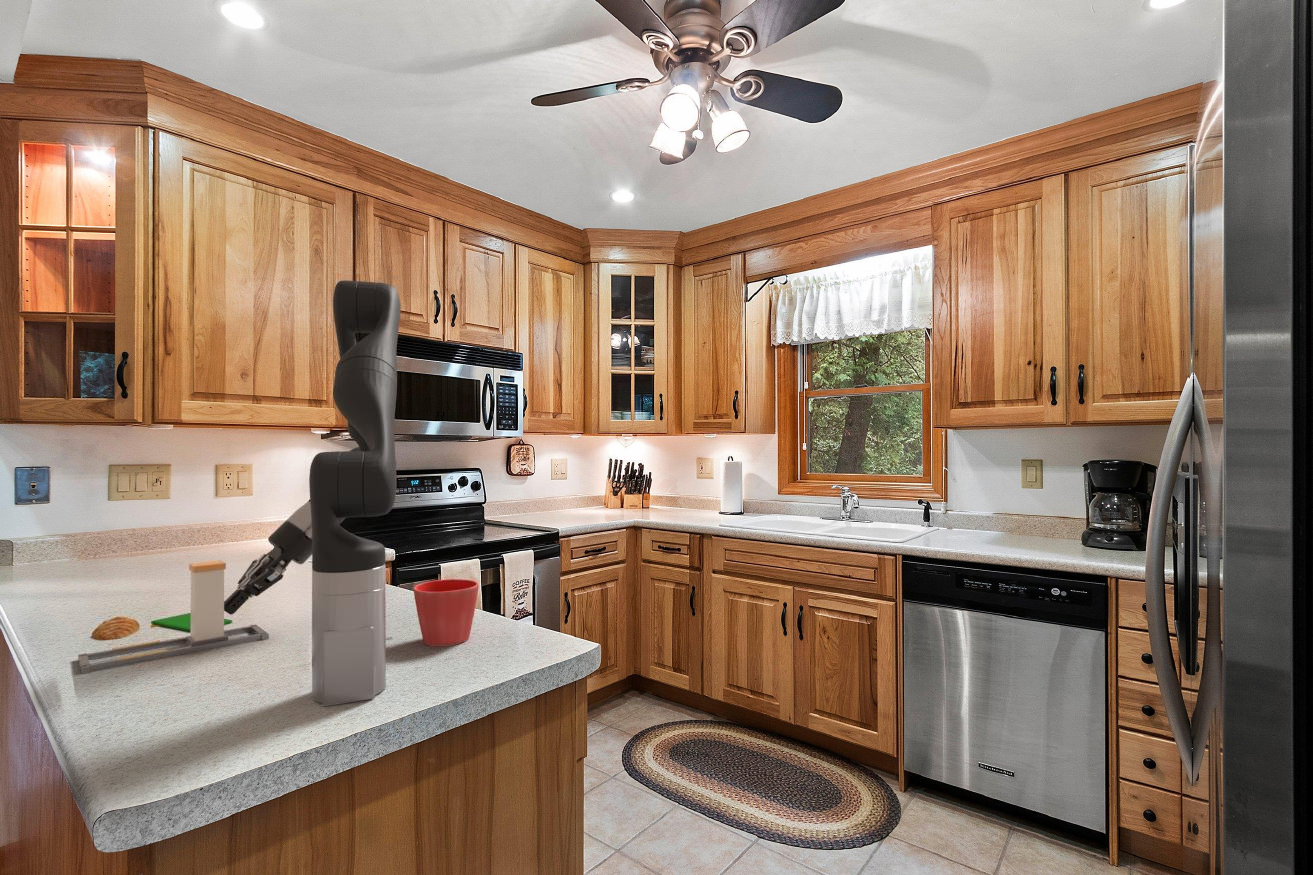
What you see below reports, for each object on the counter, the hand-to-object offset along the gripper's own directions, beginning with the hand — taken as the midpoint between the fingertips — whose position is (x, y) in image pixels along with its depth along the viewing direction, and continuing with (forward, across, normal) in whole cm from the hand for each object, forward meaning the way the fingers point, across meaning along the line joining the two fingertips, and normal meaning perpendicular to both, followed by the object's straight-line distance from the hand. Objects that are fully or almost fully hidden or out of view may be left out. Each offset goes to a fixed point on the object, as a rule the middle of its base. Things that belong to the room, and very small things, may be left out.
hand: (225, 611), depth 110 cm
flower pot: (-16, +23, +25) cm, 37 cm away
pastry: (+14, -20, -4) cm, 25 cm away
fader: (+5, 0, +2) cm, 6 cm away
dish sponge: (+6, -18, +3) cm, 20 cm away
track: (+9, 0, 0) cm, 9 cm away
